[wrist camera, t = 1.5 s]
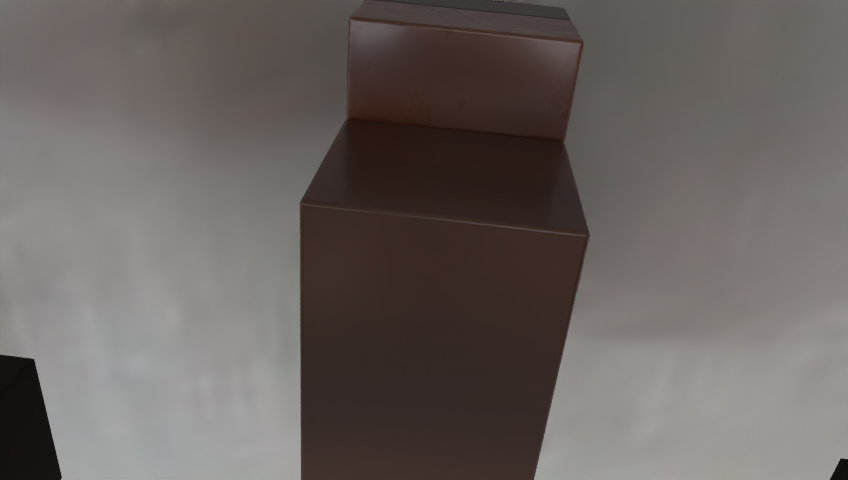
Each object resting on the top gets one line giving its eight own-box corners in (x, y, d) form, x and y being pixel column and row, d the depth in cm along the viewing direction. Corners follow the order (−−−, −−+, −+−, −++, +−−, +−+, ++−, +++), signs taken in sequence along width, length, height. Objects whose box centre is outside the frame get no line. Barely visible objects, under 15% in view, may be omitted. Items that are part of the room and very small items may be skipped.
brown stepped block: (374, -13, 16) (297, 71, 10) (565, 7, 16) (620, 105, 9) (356, 381, 22) (300, 601, 15) (496, 398, 22) (500, 628, 15)
